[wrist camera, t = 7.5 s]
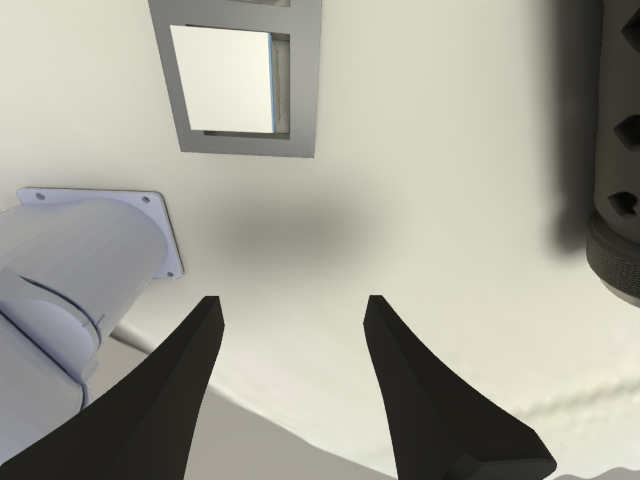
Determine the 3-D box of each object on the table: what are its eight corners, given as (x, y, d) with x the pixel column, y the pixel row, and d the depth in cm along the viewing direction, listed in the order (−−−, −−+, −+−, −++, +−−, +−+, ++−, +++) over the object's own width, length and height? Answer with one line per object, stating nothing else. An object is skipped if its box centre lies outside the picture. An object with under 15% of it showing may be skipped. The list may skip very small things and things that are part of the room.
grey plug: (224, 116, 16) (190, 130, 11) (214, 45, 14) (167, 23, 9) (281, 119, 17) (273, 134, 12) (279, 49, 15) (268, 31, 10)
